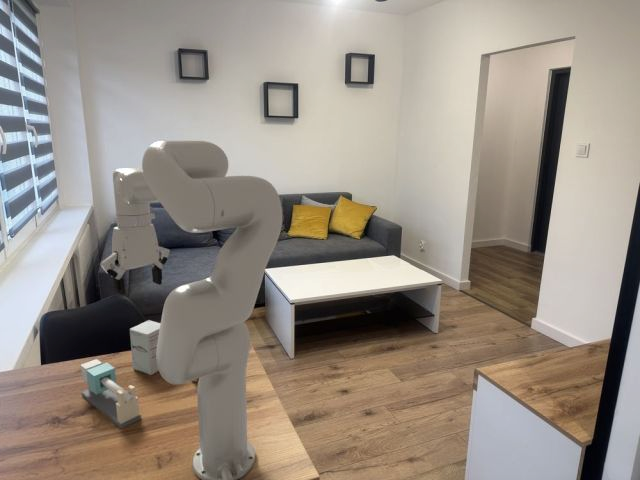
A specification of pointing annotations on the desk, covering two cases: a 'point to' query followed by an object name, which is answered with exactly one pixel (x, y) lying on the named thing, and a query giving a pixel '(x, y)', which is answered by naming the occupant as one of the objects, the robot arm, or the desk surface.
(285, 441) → the desk surface
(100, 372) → the sleeve
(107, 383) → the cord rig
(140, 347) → the supplement box
